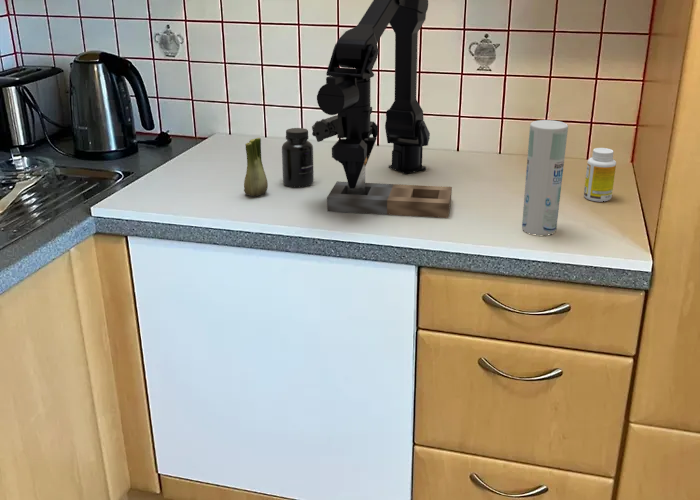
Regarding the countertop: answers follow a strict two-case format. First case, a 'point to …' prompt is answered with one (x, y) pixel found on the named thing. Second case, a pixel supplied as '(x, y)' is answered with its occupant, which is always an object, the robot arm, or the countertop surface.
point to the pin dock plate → (392, 200)
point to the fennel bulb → (254, 170)
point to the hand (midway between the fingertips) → (356, 180)
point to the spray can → (544, 176)
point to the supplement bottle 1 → (297, 159)
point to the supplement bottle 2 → (600, 175)
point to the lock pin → (359, 183)
